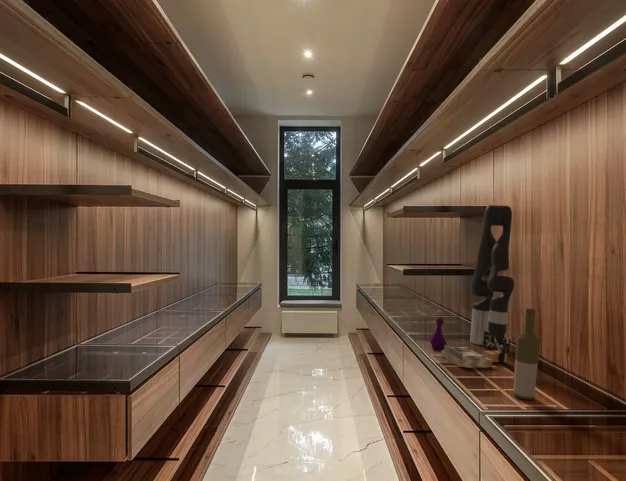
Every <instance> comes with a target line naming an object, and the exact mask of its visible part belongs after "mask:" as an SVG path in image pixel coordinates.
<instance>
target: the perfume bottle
mask: <svg viewBox="0 0 626 481" xmlns="http://www.w3.org/2000/svg"><path fill="white" fill-rule="evenodd" d="M443 313H444V310H441V309H437V314H438V315H439V316H436V320H435V323H436V324H437V325H436V330H435V332H433V334H432V335H431V336H429V338H428V340H429V343H430V345H431V347H432V349H434V348H436V350H444V345H447V344H448V343H447V341H446V339H445V336H444V335H443V333H442V325H443V324H445V321H444V318H443V317H441V315H442V314H443ZM447 346H448V345H447Z"/></svg>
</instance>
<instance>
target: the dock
mask: <svg viewBox="0 0 626 481" xmlns="http://www.w3.org/2000/svg"><path fill="white" fill-rule="evenodd" d="M440 352H441V354H440V357H441V356H442V357H444V358H446V359H447V360H446V359H445V360H446V361H448V360H449V361H450V362H449V361H448V362H449V363H451V362H452V363H451V364H453V365H454V364H455V366H456V365H457V367H458V366H459V367H465V368H473V369H474V368H492V366H493V363H492V360H491V359H489V358H487V357H486V356H485V355H483V354H480V353H478V352H476V351H475V350H473V349H470V347H468V346H467V347H466V346H464V347H463V346H461V347H460V346H459V347H457V346H453V347H452V346H449V345H444V348H443V349H441V351H440ZM442 357H441V358H442ZM444 358H443V359H444ZM459 367H458V368H459ZM465 368H464V369H465Z"/></svg>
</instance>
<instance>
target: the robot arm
mask: <svg viewBox="0 0 626 481" xmlns="http://www.w3.org/2000/svg"><path fill="white" fill-rule="evenodd" d="M512 221H513V211H512V208H511V206H509V205H499V204H498V205H497V204H494V205H493V204H492V205H487V206H486V208H485V210H484V213H483V222H482V232H481V237H480V242H479V246H478V250H477V257H476V264H475V267H474V268H475V269H474V272H473V276H472V280H471V282H470V283H471V285H470V292H471V294H472V296H475V297H477V296H478V297H483V298H484V299H482V300H480V301H477V302H473V304H472V308H471V309H472V312H471V321H470V322H471V324H470V325H471V326H470V335H469V336H470V337H469V342H470V343H471V344H475V345H479V346H485V347H486V350H485V351H493V346H494V345H495V347H496V348H497V350H498V349H499V352H500V353H499V361H500V362H499V363H502V362H504V360H505V353H506V354H509V353H510V348H511V347H510V346H511V339H510V338H506V337H505V335H506V334H507V331H508V320H509V319H508V316H509V315H508V310H509V302H510V298H511V296H512V293H513V291H514V290H515V289H514V288H515V281H514V278H513V277H511V276H507V275H504V276H503V275H499V273H500V272H506V271H509V268H510V256H509V254H510V253H509V252H510V250H509V249H510V240H511V234H512V233H511V230H512ZM492 226H493V227H494V226H496V227H497V226H498V227H499V226H501V227H502V232H501V235H500V236H499V238H498V240H496V239H495V237H494V235H493V233H492ZM489 270H490V272H489ZM487 272H489V276H488V278H484V277H483V276H484V275H485V274H486V273H487ZM482 277H483V278H482ZM495 292H497V293H501V294H500V295H498V296H494V295H495Z"/></svg>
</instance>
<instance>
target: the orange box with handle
mask: <svg viewBox="0 0 626 481" xmlns="http://www.w3.org/2000/svg"><path fill="white" fill-rule="evenodd" d="M499 353H500V352H499V349H498V348H497V350H492V351H486V350H483V354H482V355H485V356H486V357H487V358H489V359H491V360H492V364H494V363H502V364H506V362H508V361H507V360H508V353H505V360H504V362H500V361H499Z"/></svg>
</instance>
